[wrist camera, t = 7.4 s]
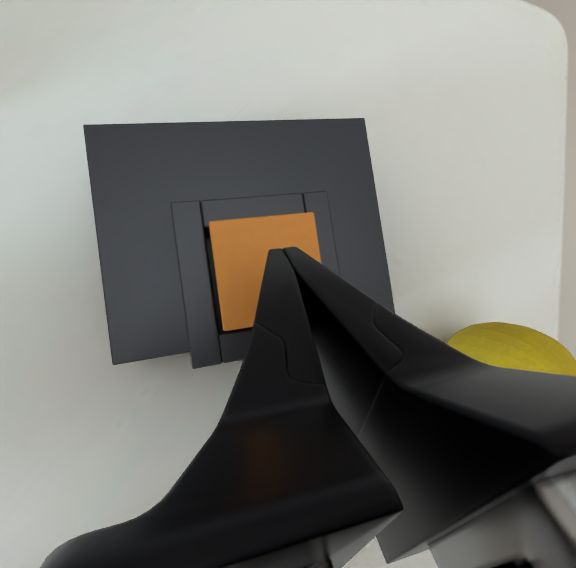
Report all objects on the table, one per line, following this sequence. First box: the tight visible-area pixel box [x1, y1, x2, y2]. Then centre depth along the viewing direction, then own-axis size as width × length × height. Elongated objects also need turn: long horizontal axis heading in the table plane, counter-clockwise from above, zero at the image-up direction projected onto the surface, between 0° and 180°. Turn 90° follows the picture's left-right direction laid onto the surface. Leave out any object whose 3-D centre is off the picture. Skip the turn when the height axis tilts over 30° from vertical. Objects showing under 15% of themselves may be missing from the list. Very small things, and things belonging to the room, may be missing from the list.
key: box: [209, 212, 322, 331], centre depth 13 cm, size 4×4×2 cm
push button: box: [83, 118, 395, 369], centre depth 16 cm, size 11×14×6 cm
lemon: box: [447, 322, 576, 376], centre depth 18 cm, size 6×6×8 cm
